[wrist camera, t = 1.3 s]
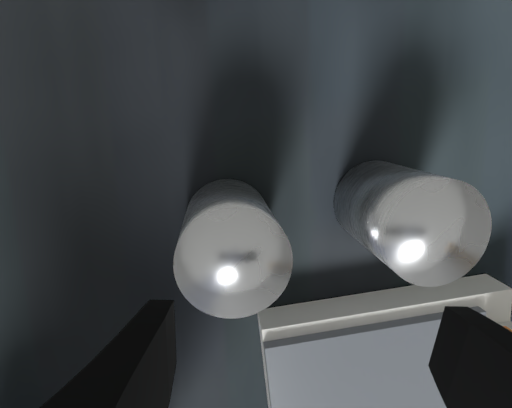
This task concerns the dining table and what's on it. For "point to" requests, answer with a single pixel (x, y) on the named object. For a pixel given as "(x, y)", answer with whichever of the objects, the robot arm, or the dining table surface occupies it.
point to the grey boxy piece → (367, 344)
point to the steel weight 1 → (231, 251)
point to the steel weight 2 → (414, 220)
